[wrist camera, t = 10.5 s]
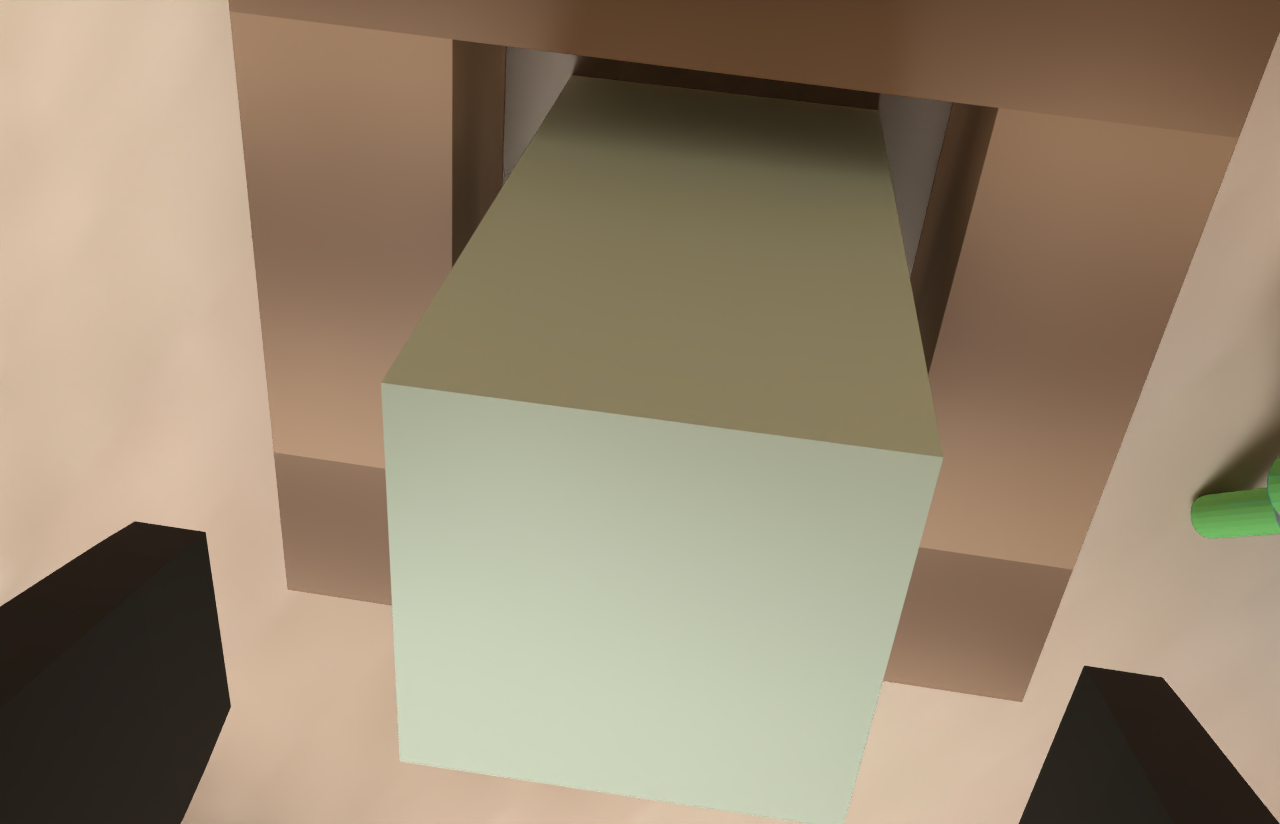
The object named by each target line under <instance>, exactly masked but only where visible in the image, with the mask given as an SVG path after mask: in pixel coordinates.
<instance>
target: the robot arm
mask: <svg viewBox="0 0 1280 824" xmlns="http://www.w3.org/2000/svg"><path fill="white" fill-rule="evenodd" d="M230 707H231V705H230V698H229V691H228V684H227V677H226V670H225V663H224V656H223V649H222V642H221V636H220V629H219V622H218V615H217V608H216V601H215V594H214V587H213V580H212V573H211V567H210V560H209V553H208V546H207V539H206V532H201V531H194V530H188V529H181V528H175V527H168V526H161V525H155V524H148V523H142V522H133V523H132V524H130V525H128V526H127V527H125V528H123V529H122V530H120V531H118V532H116V533H115V534H113V535H111V536H110V537H108V538H107V539H105V540H103V541H102V542H100V543H99V544H97V545H95V546H94V547H92V548H91V549H89V550H87V551H86V552H84V553H83V554H81V555H80V556H78V557H76V558H75V559H73V560H72V561H70V562H69V563H67V564H66V565H64V566H62V567H61V568H59V569H58V570H56V571H55V572H53V573H52V574H50V575H49V576H47V577H45V578H44V579H42V580H41V581H39V582H38V583H36V584H35V585H33V586H32V587H30V588H28V589H27V590H25V591H24V592H22V593H21V594H19V595H18V596H16V597H15V598H13V599H11V600H10V601H8V602H7V603H5V604H4V605H2V606H1V607H0V824H180V823H181V821H182V820H183V818H184V815H185V813H186V811H187V809H188V806H189V804H190V802H191V800H192V797H193V795H194V793H195V791H196V788H197V786H198V784H199V782H200V779H201V777H202V775H203V773H204V770H205V768H206V766H207V763H208V761H209V759H210V756H211V754H212V751H213V749H214V746H215V744H216V742H217V739H218V737H219V734H220V732H221V729H222V727H223V725H224V722H225V720H226V717H227V715H228V712H229V710H230ZM1019 824H1279V822H1278V821H1277V820H1276V819H1275V817H1274V816H1273V815H1272V814H1271V812H1270V811H1269V810H1268V809H1267V807H1266V806H1265V805H1264V804H1263V802H1262V801H1261V800H1260V799H1259V797H1258V796H1257V795H1256V794H1255V792H1254V791H1253V790H1252V789H1251V787H1250V786H1249V785H1248V784H1247V782H1246V781H1245V780H1244V779H1243V777H1242V776H1241V775H1240V774H1239V772H1238V771H1237V770H1236V768H1235V767H1234V766H1233V765H1232V763H1231V762H1230V761H1229V760H1228V758H1227V757H1226V756H1225V755H1224V753H1223V752H1222V751H1221V750H1220V748H1219V747H1218V746H1217V744H1216V743H1215V742H1214V741H1213V739H1212V738H1211V737H1210V736H1209V734H1208V733H1207V732H1206V731H1205V729H1204V728H1203V727H1202V726H1201V724H1200V723H1199V722H1198V720H1197V719H1196V718H1195V717H1194V715H1193V714H1192V713H1191V712H1190V710H1189V709H1188V708H1187V707H1186V705H1185V704H1184V703H1183V702H1182V701H1181V699H1180V698H1179V697H1178V696H1177V694H1176V693H1175V692H1174V691H1173V690H1172V688H1171V687H1170V686H1169V685H1168V684H1167V682H1166V681H1165V680H1164V679H1163V678H1162V677H1156V676H1149V675H1142V674H1136V673H1129V672H1123V671H1116V670H1109V669H1103V668H1096V667H1090V666H1084V668H1083V670H1082V672H1081V675H1080V677H1079V680H1078V682H1077V684H1076V687H1075V689H1074V692H1073V694H1072V697H1071V699H1070V701H1069V704H1068V706H1067V709H1066V711H1065V713H1064V716H1063V718H1062V721H1061V723H1060V725H1059V728H1058V730H1057V733H1056V735H1055V738H1054V740H1053V742H1052V745H1051V747H1050V750H1049V752H1048V754H1047V757H1046V759H1045V762H1044V764H1043V766H1042V769H1041V771H1040V774H1039V776H1038V779H1037V781H1036V783H1035V786H1034V788H1033V791H1032V793H1031V795H1030V798H1029V800H1028V803H1027V805H1026V807H1025V810H1024V812H1023V815H1022V817H1021V820H1020V822H1019Z"/></svg>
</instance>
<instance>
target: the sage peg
mask: <svg viewBox="0 0 1280 824" xmlns="http://www.w3.org/2000/svg"><path fill="white" fill-rule="evenodd" d="M381 392H382V412H383V433H384V453H385V473H386V493H387V513H388V533H389V554H390V574H391V594H392V614H393V634H394V654H395V675H396V695H397V715H398V735H399V755H400V761H401V762H407V763H414V764H420V765H427V766H433V767H440V768H446V769H453V770H460V771H466V772H473V773H479V774H486V775H492V776H499V777H505V778H512V779H518V780H525V781H531V782H538V783H544V784H551V785H558V786H564V787H571V788H577V789H584V790H590V791H597V792H603V793H610V794H616V795H623V796H629V797H636V798H643V799H649V800H656V801H662V802H669V803H675V804H682V805H688V806H695V807H701V808H708V809H714V810H721V811H727V812H734V813H741V814H747V815H754V816H760V817H767V818H773V819H780V820H786V821H793V822H799V823H806V824H844V823H845V819H846V815H847V812H848V808H849V804H850V800H851V797H852V793H853V789H854V786H855V782H856V778H857V775H858V771H859V767H860V764H861V760H862V756H863V752H864V749H865V745H866V741H867V738H868V734H869V730H870V727H871V723H872V719H873V716H874V712H875V708H876V704H877V701H878V697H879V693H880V690H881V686H882V682H883V679H884V675H885V671H886V668H887V664H888V660H889V656H890V653H891V649H892V645H893V642H894V638H895V634H896V631H897V627H898V623H899V620H900V616H901V612H902V608H903V605H904V601H905V597H906V594H907V590H908V586H909V583H910V579H911V575H912V572H913V568H914V564H915V560H916V557H917V553H918V549H919V546H920V542H921V538H922V535H923V531H924V527H925V524H926V520H927V516H928V512H929V509H930V505H931V501H932V498H933V494H934V490H935V487H936V483H937V479H938V476H939V472H940V468H941V464H942V461H943V453H942V447H941V442H940V437H939V431H938V426H937V421H936V415H935V410H934V405H933V399H932V394H931V389H930V383H929V378H928V373H927V367H926V362H925V357H924V351H923V346H922V340H921V335H920V330H919V324H918V319H917V314H916V308H915V303H914V298H913V292H912V287H911V282H910V276H909V271H908V266H907V260H906V255H905V250H904V244H903V239H902V234H901V228H900V223H899V217H898V212H897V207H896V201H895V196H894V191H893V185H892V180H891V175H890V169H889V164H888V159H887V153H886V148H885V143H884V137H883V132H882V127H881V121H880V116H879V111H878V110H871V109H862V108H854V107H845V106H836V105H828V104H819V103H810V102H802V101H793V100H784V99H776V98H767V97H758V96H750V95H741V94H732V93H724V92H715V91H706V90H698V89H689V88H680V87H672V86H663V85H654V84H645V83H637V82H628V81H619V80H611V79H602V78H593V77H585V76H576V75H572V76H571V77H570V79H569V81H568V82H567V84H566V85H565V87H564V89H563V90H562V92H561V93H560V95H559V97H558V98H557V100H556V102H555V103H554V105H553V106H552V108H551V110H550V111H549V113H548V114H547V116H546V118H545V119H544V121H543V123H542V124H541V126H540V127H539V129H538V131H537V132H536V134H535V135H534V137H533V139H532V140H531V142H530V143H529V145H528V147H527V148H526V150H525V152H524V153H523V155H522V156H521V158H520V160H519V161H518V163H517V164H516V166H515V168H514V169H513V171H512V172H511V174H510V176H509V177H508V179H507V181H506V182H505V184H504V185H503V187H502V189H501V190H500V192H499V193H498V195H497V197H496V198H495V200H494V201H493V203H492V205H491V206H490V208H489V210H488V211H487V213H486V214H485V216H484V218H483V219H482V221H481V222H480V224H479V226H478V227H477V229H476V231H475V232H474V234H473V235H472V237H471V239H470V240H469V242H468V243H467V245H466V247H465V248H464V250H463V251H462V253H461V255H460V256H459V258H458V260H457V261H456V263H455V264H454V266H453V268H452V269H451V271H450V272H449V274H448V276H447V277H446V279H445V280H444V282H443V284H442V285H441V287H440V289H439V290H438V292H437V293H436V295H435V297H434V298H433V300H432V301H431V303H430V305H429V306H428V308H427V309H426V311H425V313H424V314H423V316H422V318H421V319H420V321H419V322H418V324H417V326H416V327H415V329H414V330H413V332H412V334H411V335H410V337H409V338H408V340H407V342H406V343H405V345H404V347H403V348H402V350H401V351H400V353H399V355H398V356H397V358H396V359H395V361H394V363H393V364H392V366H391V368H390V369H389V371H388V372H387V374H386V376H385V377H384V379H383V380H382V382H381Z"/></svg>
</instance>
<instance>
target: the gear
mask: <svg viewBox="0 0 1280 824" xmlns="http://www.w3.org/2000/svg"><path fill="white" fill-rule="evenodd" d="M1191 521H1192V524H1193V526H1194V528H1195V530H1196V531H1197V532H1198V533H1199V534H1201V535H1202V536H1204V537H1206V538H1226V537H1241V536H1256V535H1271V534H1280V457H1279V458H1278V459H1277V460H1276V461H1275V462H1274V463H1273V465H1272V466H1271V468H1270V471H1269V474H1268V480H1267V488H1259V489H1250V490H1242V491H1234V492H1226V493H1217V494H1209V495H1204V496H1201V497H1199V498H1198V499H1196V501H1195V502H1194V503H1193V505H1192V508H1191Z"/></svg>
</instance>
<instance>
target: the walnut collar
mask: <svg viewBox="0 0 1280 824" xmlns="http://www.w3.org/2000/svg"><path fill="white" fill-rule="evenodd" d="M229 10H230V19H231V29H232V39H233V49H234V59H235V69H236V79H237V89H238V99H239V109H240V119H241V129H242V139H243V149H244V159H245V169H246V179H247V189H248V199H249V209H250V219H251V229H252V239H253V249H254V259H255V269H256V279H257V289H258V299H259V309H260V319H261V329H262V339H263V349H264V359H265V369H266V379H267V389H268V399H269V409H270V419H271V429H272V439H273V449H274V458H275V468H276V478H277V488H278V498H279V508H280V518H281V528H282V538H283V548H284V558H285V568H286V578H287V588H288V590H294V591H301V592H307V593H314V594H320V595H327V596H333V597H340V598H346V599H353V600H359V601H366V602H372V603H379V604H385V605H392V594H391V574H390V554H389V533H388V513H387V493H386V473H385V453H384V433H383V412H382V392H381V382H382V380H383V379H384V377H385V376H386V374H387V372H388V371H389V369H390V368H391V366H392V364H393V363H394V361H395V359H396V358H397V356H398V355H399V353H400V351H401V350H402V348H403V347H404V345H405V343H406V342H407V340H408V338H409V337H410V335H411V334H412V332H413V330H414V329H415V327H416V326H417V324H418V322H419V321H420V319H421V318H422V316H423V314H424V313H425V311H426V309H427V308H428V306H429V305H430V303H431V301H432V300H433V298H434V297H435V295H436V293H437V292H438V290H439V289H440V287H441V285H442V284H443V282H444V280H445V279H446V277H447V276H448V274H449V272H450V271H451V269H452V268H453V266H454V264H455V263H456V261H457V260H458V258H459V256H460V255H461V253H462V251H463V250H464V248H465V247H466V245H467V243H468V242H469V240H470V239H471V237H472V235H473V234H474V232H475V231H476V229H477V227H478V226H479V224H480V222H481V221H482V219H483V218H484V216H485V214H486V213H487V211H488V210H489V208H490V206H491V205H492V203H493V201H494V200H495V198H496V197H497V195H498V193H499V192H500V190H501V189H502V167H503V130H504V92H505V55H506V46H509V47H517V48H525V49H533V50H541V51H549V52H557V53H565V54H573V55H581V56H589V57H597V58H605V59H612V60H620V61H628V62H636V63H644V64H652V65H660V66H668V67H676V68H684V69H692V70H700V71H708V72H716V73H724V74H732V75H740V76H748V77H756V78H764V79H772V80H780V81H788V82H796V83H804V84H812V85H820V86H828V87H836V88H844V89H852V90H859V91H867V92H875V93H883V94H891V95H899V96H907V97H915V98H923V99H931V100H939V101H947V102H953V105H952V109H951V113H950V117H949V121H948V126H947V130H946V134H945V138H944V142H943V146H942V150H941V155H940V159H939V163H938V167H937V171H936V175H935V179H934V184H933V188H932V192H931V196H930V200H929V204H928V208H927V213H926V217H925V221H924V225H923V229H922V233H921V238H920V242H919V246H918V250H917V254H916V258H915V262H914V267H913V271H912V275H911V279H910V282H911V287H912V292H913V298H914V303H915V308H916V314H917V319H918V324H919V330H920V335H921V340H922V346H923V351H924V357H925V362H926V367H927V373H928V378H929V383H930V389H931V394H932V399H933V405H934V410H935V415H936V421H937V426H938V431H939V437H940V442H941V447H942V453H943V461H942V464H941V468H940V472H939V476H938V479H937V483H936V487H935V490H934V494H933V498H932V501H931V505H930V509H929V512H928V516H927V520H926V524H925V527H924V531H923V535H922V538H921V542H920V546H919V549H918V553H917V557H916V560H915V564H914V568H913V572H912V575H911V579H910V583H909V586H908V590H907V594H906V597H905V601H904V605H903V608H902V612H901V616H900V620H899V623H898V627H897V631H896V634H895V638H894V642H893V645H892V649H891V653H890V656H889V660H888V664H887V668H886V671H885V675H884V679H883V681H888V682H894V683H901V684H907V685H914V686H920V687H927V688H933V689H940V690H946V691H953V692H959V693H966V694H972V695H979V696H986V697H992V698H999V699H1005V700H1012V701H1018V702H1022V701H1023V698H1024V695H1025V693H1026V690H1027V688H1028V685H1029V682H1030V680H1031V677H1032V675H1033V672H1034V669H1035V667H1036V664H1037V662H1038V659H1039V656H1040V654H1041V651H1042V649H1043V646H1044V643H1045V641H1046V638H1047V636H1048V633H1049V630H1050V628H1051V625H1052V622H1053V620H1054V617H1055V615H1056V612H1057V609H1058V607H1059V604H1060V602H1061V599H1062V596H1063V594H1064V591H1065V589H1066V586H1067V583H1068V581H1069V578H1070V576H1071V573H1072V570H1073V568H1074V565H1075V563H1076V560H1077V557H1078V555H1079V552H1080V550H1081V547H1082V544H1083V542H1084V539H1085V537H1086V534H1087V531H1088V529H1089V526H1090V524H1091V521H1092V518H1093V516H1094V513H1095V511H1096V508H1097V505H1098V503H1099V500H1100V498H1101V495H1102V492H1103V490H1104V487H1105V485H1106V482H1107V479H1108V477H1109V474H1110V472H1111V469H1112V466H1113V464H1114V461H1115V459H1116V456H1117V453H1118V451H1119V448H1120V446H1121V443H1122V440H1123V438H1124V435H1125V433H1126V430H1127V427H1128V425H1129V422H1130V419H1131V417H1132V414H1133V412H1134V409H1135V406H1136V404H1137V401H1138V399H1139V396H1140V393H1141V391H1142V388H1143V386H1144V383H1145V380H1146V378H1147V375H1148V373H1149V370H1150V367H1151V365H1152V362H1153V360H1154V357H1155V354H1156V352H1157V349H1158V347H1159V344H1160V341H1161V339H1162V336H1163V334H1164V331H1165V328H1166V326H1167V323H1168V321H1169V318H1170V315H1171V313H1172V310H1173V308H1174V305H1175V302H1176V300H1177V297H1178V295H1179V292H1180V289H1181V287H1182V284H1183V282H1184V279H1185V276H1186V274H1187V271H1188V269H1189V266H1190V263H1191V261H1192V258H1193V256H1194V253H1195V250H1196V248H1197V245H1198V243H1199V240H1200V237H1201V235H1202V232H1203V230H1204V227H1205V224H1206V222H1207V219H1208V216H1209V214H1210V211H1211V209H1212V206H1213V203H1214V201H1215V198H1216V196H1217V193H1218V190H1219V188H1220V185H1221V183H1222V180H1223V177H1224V175H1225V172H1226V170H1227V167H1228V164H1229V162H1230V159H1231V157H1232V154H1233V151H1234V149H1235V146H1236V144H1237V141H1238V138H1239V136H1240V133H1241V131H1242V128H1243V125H1244V123H1245V120H1246V118H1247V115H1248V112H1249V110H1250V107H1251V105H1252V102H1253V99H1254V97H1255V94H1256V92H1257V89H1258V86H1259V84H1260V81H1261V79H1262V76H1263V73H1264V71H1265V68H1266V66H1267V63H1268V60H1269V58H1270V55H1271V53H1272V50H1273V47H1274V45H1275V42H1276V40H1277V37H1278V34H1279V32H1280V0H229Z"/></svg>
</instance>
